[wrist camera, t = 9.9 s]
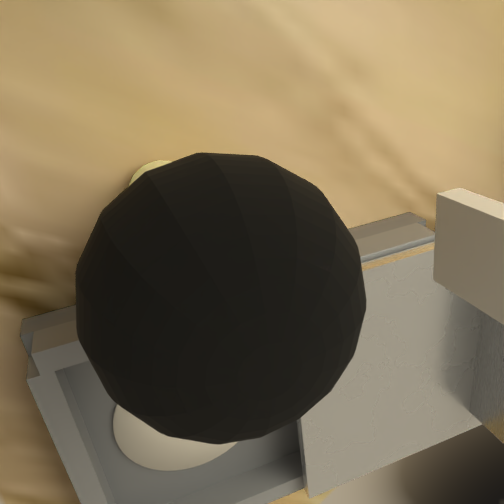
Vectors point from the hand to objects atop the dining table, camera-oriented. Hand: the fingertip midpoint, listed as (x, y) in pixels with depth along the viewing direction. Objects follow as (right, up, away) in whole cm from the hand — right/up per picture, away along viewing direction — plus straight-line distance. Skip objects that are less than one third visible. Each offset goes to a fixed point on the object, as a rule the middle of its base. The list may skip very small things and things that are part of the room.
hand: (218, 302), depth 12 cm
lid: (+8, -4, +12) cm, 15 cm away
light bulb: (-3, +4, +7) cm, 9 cm away
